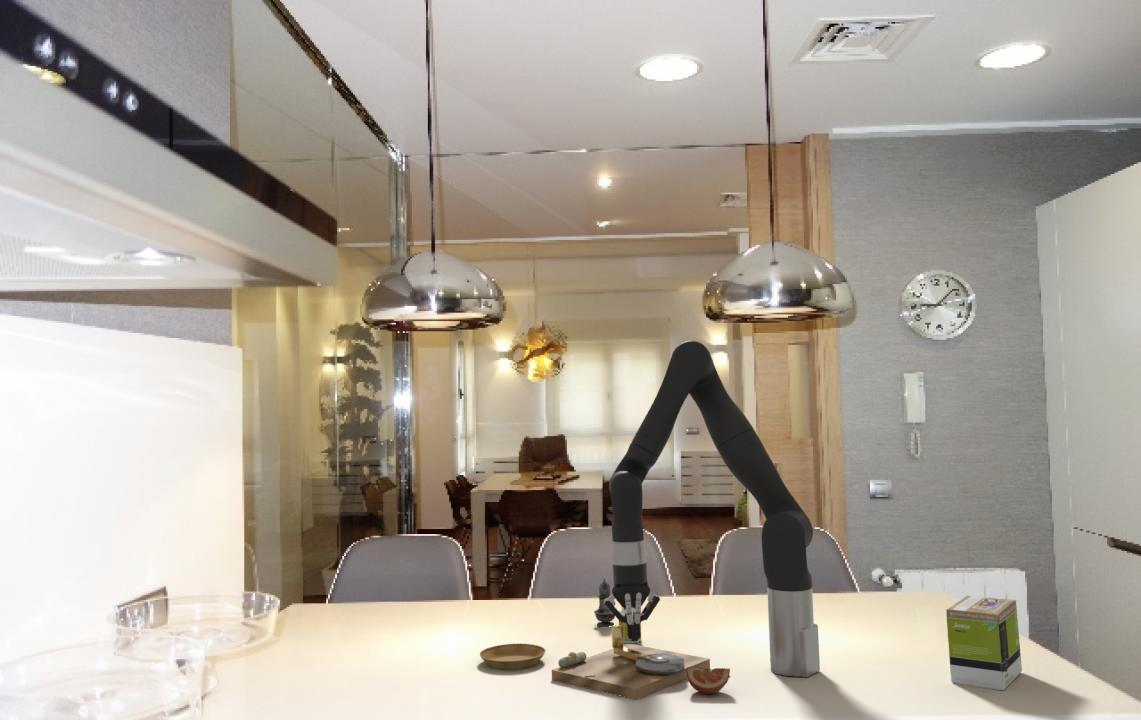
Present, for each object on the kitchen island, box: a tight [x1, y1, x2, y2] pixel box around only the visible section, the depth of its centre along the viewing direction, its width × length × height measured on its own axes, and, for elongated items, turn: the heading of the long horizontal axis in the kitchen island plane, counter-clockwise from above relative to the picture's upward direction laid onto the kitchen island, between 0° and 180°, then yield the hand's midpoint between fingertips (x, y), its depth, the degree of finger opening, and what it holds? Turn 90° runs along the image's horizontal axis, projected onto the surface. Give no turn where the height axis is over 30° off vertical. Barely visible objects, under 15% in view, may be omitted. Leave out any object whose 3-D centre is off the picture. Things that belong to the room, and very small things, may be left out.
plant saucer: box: [479, 643, 547, 670], centre depth 197 cm, size 15×15×3 cm
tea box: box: [945, 595, 1023, 691], centre depth 176 cm, size 15×10×15 cm
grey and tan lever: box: [611, 624, 685, 675], centre depth 185 cm, size 20×10×6 cm, turn 35°
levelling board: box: [551, 643, 711, 700], centre depth 185 cm, size 22×26×5 cm
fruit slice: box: [686, 667, 731, 695], centre depth 171 cm, size 8×7×5 cm
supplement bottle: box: [618, 605, 642, 644], centre depth 213 cm, size 5×5×10 cm
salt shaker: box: [593, 578, 616, 628], centre depth 229 cm, size 6×6×12 cm
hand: (633, 640), depth 194 cm, fingers closed
